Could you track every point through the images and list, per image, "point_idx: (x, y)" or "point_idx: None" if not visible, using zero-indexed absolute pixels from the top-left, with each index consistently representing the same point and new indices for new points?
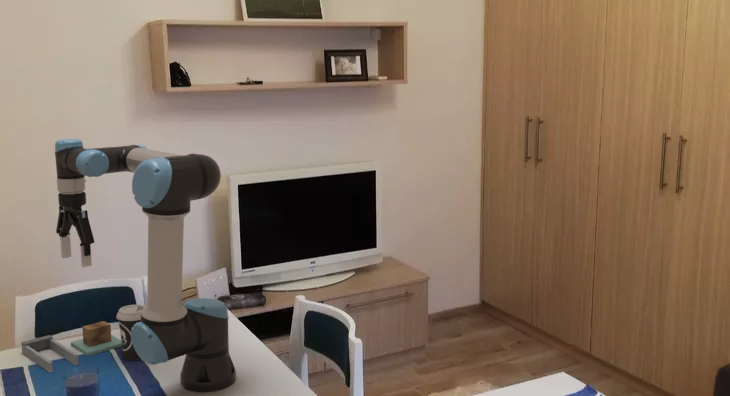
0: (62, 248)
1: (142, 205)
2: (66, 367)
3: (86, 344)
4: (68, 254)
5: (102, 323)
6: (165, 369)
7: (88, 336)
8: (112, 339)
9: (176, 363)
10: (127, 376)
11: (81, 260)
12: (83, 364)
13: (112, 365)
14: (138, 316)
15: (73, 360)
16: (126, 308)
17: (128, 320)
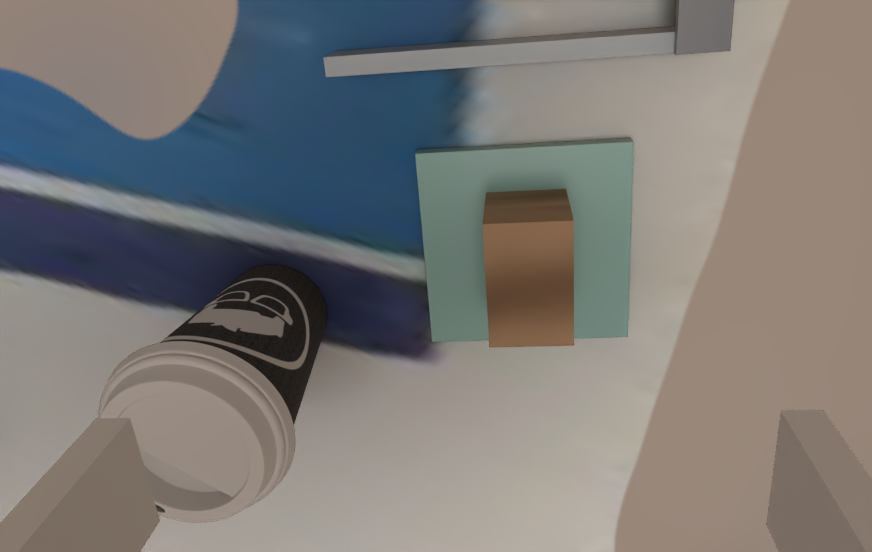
0: (850, 538)
1: None
2: (338, 3)
3: (527, 191)
4: (785, 523)
5: (538, 323)
6: (67, 334)
7: (494, 210)
8: None
9: None
10: (72, 189)
11: (71, 478)
12: (324, 88)
13: (230, 190)
14: None
15: (349, 51)
16: (228, 436)
17: (113, 371)
